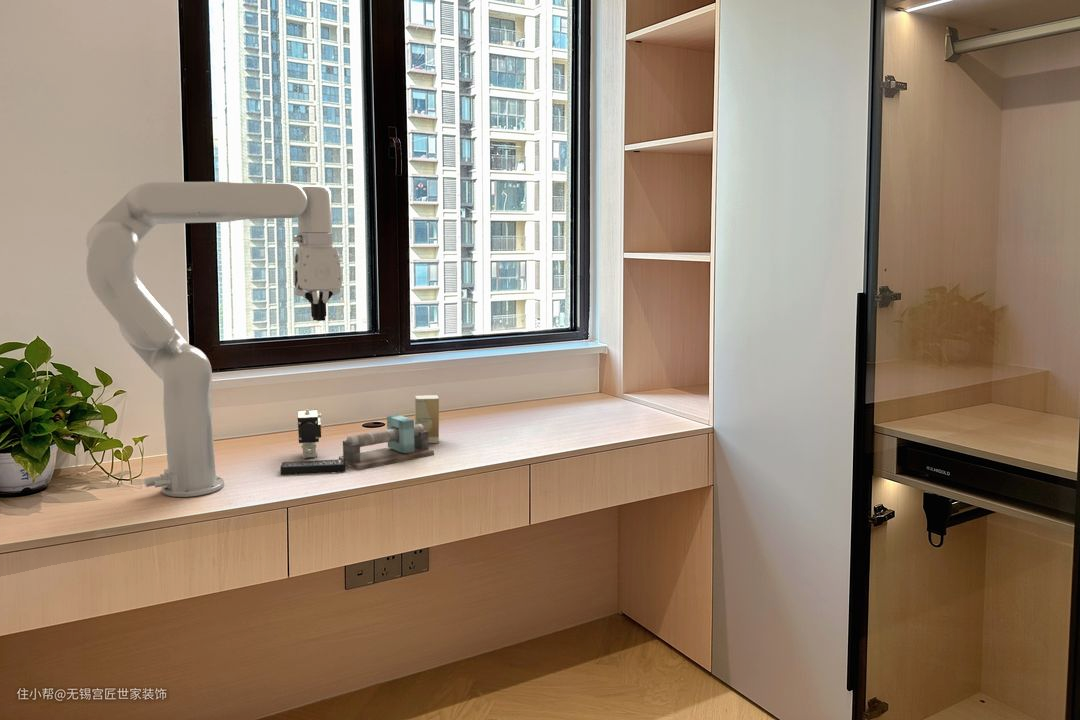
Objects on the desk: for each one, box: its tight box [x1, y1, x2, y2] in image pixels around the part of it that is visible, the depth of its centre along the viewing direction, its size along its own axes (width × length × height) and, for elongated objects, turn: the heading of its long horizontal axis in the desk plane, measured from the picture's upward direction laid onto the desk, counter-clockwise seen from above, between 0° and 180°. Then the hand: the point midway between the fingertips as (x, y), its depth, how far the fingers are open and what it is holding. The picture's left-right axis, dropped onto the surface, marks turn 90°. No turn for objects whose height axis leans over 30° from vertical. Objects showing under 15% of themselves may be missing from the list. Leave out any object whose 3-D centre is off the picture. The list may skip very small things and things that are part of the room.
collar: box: [386, 413, 415, 453], centre depth 210 cm, size 3×8×8 cm, turn 39°
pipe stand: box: [338, 424, 435, 471], centre depth 207 cm, size 21×10×7 cm, turn 129°
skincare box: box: [414, 394, 440, 444], centre depth 222 cm, size 6×4×12 cm
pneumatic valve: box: [297, 408, 322, 460], centre depth 208 cm, size 6×12×12 cm, turn 15°
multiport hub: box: [280, 458, 347, 476], centre depth 197 cm, size 4×14×2 cm, turn 100°
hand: (319, 320), depth 195 cm, fingers closed
